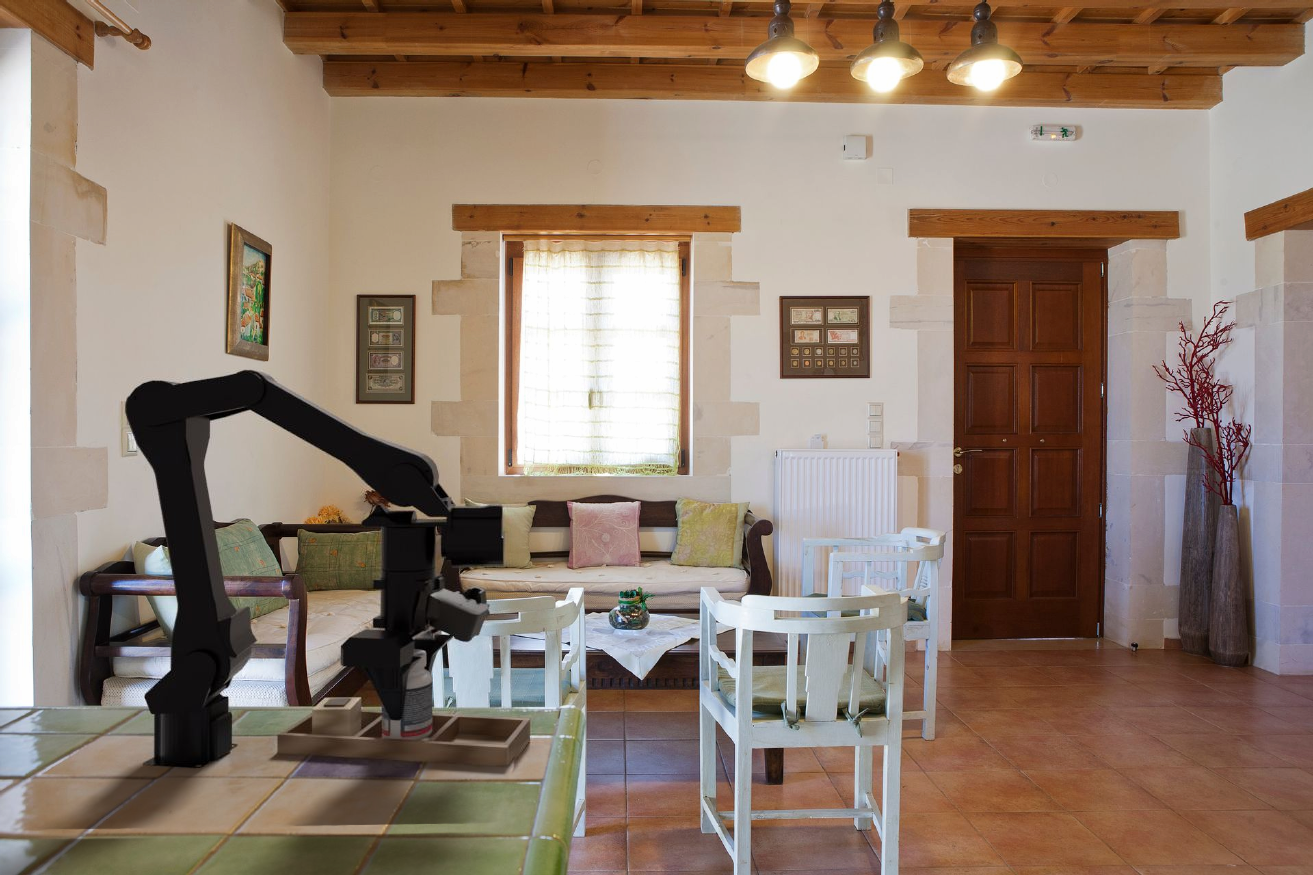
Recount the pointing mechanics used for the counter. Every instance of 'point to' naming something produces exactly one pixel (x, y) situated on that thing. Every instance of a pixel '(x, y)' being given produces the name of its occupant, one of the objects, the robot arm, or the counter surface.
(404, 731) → the pill bottle
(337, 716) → the tan hollow cube
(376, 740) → the bay tray
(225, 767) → the counter surface
